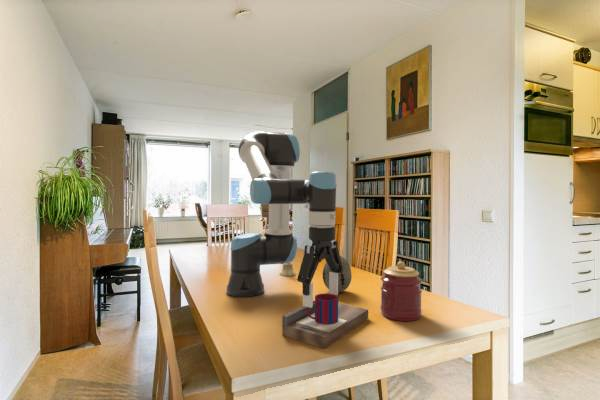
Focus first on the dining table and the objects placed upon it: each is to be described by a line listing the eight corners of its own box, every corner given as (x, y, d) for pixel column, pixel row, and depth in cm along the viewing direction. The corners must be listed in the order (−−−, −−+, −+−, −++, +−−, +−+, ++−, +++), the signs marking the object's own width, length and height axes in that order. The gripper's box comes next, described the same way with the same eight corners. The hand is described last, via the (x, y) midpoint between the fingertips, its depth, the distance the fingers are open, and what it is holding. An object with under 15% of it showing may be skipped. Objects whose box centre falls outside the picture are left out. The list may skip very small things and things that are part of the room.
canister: (398, 324, 103) (398, 267, 103) (372, 311, 115) (372, 259, 115) (430, 318, 108) (431, 263, 108) (403, 306, 120) (403, 256, 120)
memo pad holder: (282, 335, 95) (282, 315, 95) (330, 309, 116) (330, 293, 116) (324, 348, 87) (324, 327, 87) (368, 318, 108) (368, 301, 108)
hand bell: (276, 273, 170) (277, 241, 170) (292, 271, 173) (292, 240, 173) (283, 277, 162) (283, 243, 162) (298, 275, 166) (298, 242, 166)
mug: (342, 322, 96) (342, 298, 96) (311, 328, 92) (312, 303, 91) (330, 314, 102) (330, 292, 102) (300, 320, 97) (300, 296, 97)
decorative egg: (356, 294, 133) (356, 257, 133) (328, 297, 130) (328, 258, 130) (344, 287, 145) (344, 252, 144) (318, 289, 141) (318, 253, 141)
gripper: (307, 231, 84) (307, 315, 85) (354, 223, 104) (353, 291, 105) (284, 229, 88) (283, 309, 89) (333, 221, 108) (332, 287, 109)
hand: (321, 299), depth 97 cm, fingers open, 13 cm apart
